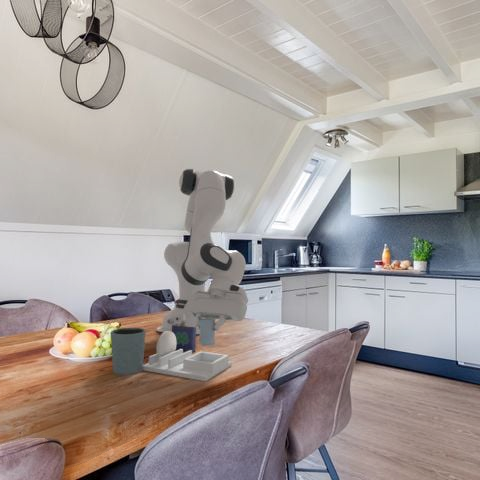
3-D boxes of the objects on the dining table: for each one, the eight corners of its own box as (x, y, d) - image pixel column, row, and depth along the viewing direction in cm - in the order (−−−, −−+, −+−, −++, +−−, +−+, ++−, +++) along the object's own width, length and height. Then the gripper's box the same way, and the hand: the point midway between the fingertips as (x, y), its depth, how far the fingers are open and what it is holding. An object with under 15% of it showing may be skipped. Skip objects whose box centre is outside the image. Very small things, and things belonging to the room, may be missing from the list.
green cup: (125, 378, 109) (126, 335, 109) (102, 372, 114) (102, 331, 115) (152, 369, 118) (152, 329, 118) (129, 363, 123) (129, 325, 123)
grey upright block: (196, 344, 116) (196, 320, 116) (204, 341, 120) (204, 317, 120) (210, 346, 114) (210, 321, 114) (217, 342, 118) (217, 319, 118)
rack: (141, 369, 116) (142, 335, 116) (172, 356, 131) (173, 326, 131) (205, 381, 107) (206, 343, 107) (231, 365, 121) (231, 332, 122)
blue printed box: (196, 350, 138) (197, 320, 139) (193, 352, 136) (193, 322, 136) (173, 348, 141) (173, 319, 141) (169, 350, 138) (169, 320, 138)
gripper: (190, 285, 128) (173, 319, 119) (247, 287, 120) (233, 325, 110) (197, 297, 132) (181, 331, 123) (252, 300, 124) (239, 338, 114)
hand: (206, 328), depth 117 cm, fingers closed on grey upright block, 5 cm apart
